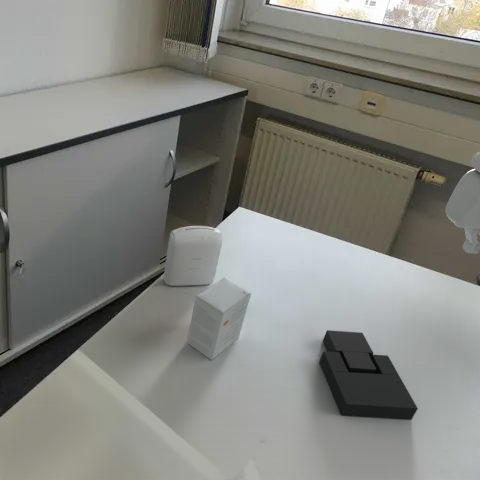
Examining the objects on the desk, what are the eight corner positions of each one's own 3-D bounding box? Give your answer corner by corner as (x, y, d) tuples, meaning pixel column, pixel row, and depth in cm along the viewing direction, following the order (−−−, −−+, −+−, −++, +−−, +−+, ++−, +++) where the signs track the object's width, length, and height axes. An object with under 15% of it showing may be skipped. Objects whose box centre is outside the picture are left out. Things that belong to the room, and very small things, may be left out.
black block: (322, 340, 96) (326, 330, 94) (357, 343, 96) (362, 332, 94) (339, 378, 88) (344, 367, 87) (377, 381, 89) (382, 370, 87)
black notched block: (318, 362, 91) (323, 351, 90) (382, 366, 92) (387, 355, 90) (341, 415, 82) (346, 404, 80) (411, 419, 82) (418, 408, 81)
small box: (213, 322, 97) (224, 276, 91) (239, 339, 94) (252, 292, 88) (185, 342, 92) (195, 294, 86) (211, 361, 89) (223, 312, 83)
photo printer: (165, 288, 104) (174, 234, 98) (160, 274, 108) (168, 221, 101) (215, 286, 106) (228, 233, 100) (209, 273, 110) (221, 221, 103)
